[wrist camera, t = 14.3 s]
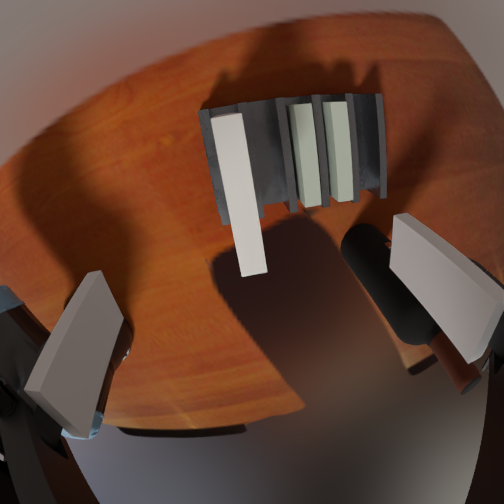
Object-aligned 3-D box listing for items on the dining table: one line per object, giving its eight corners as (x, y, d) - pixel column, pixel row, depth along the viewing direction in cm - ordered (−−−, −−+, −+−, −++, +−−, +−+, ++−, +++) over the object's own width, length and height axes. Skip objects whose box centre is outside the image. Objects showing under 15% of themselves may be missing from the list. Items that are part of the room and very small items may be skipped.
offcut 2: (322, 188, 38) (338, 202, 33) (313, 102, 33) (330, 102, 27) (335, 186, 38) (353, 199, 33) (328, 101, 33) (346, 101, 27)
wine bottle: (341, 226, 43) (459, 375, 17) (382, 220, 43) (509, 346, 17) (339, 267, 47) (430, 419, 20) (378, 260, 47) (479, 392, 21)
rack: (218, 209, 40) (218, 226, 35) (198, 111, 33) (194, 111, 28) (369, 185, 40) (389, 197, 35) (363, 94, 34) (385, 93, 28)
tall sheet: (232, 203, 38) (241, 276, 22) (215, 115, 33) (210, 118, 17) (247, 200, 38) (267, 272, 22) (231, 112, 33) (241, 113, 17)
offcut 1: (293, 192, 38) (305, 207, 33) (282, 105, 33) (293, 104, 27) (307, 190, 38) (321, 204, 33) (297, 104, 33) (311, 103, 27)
